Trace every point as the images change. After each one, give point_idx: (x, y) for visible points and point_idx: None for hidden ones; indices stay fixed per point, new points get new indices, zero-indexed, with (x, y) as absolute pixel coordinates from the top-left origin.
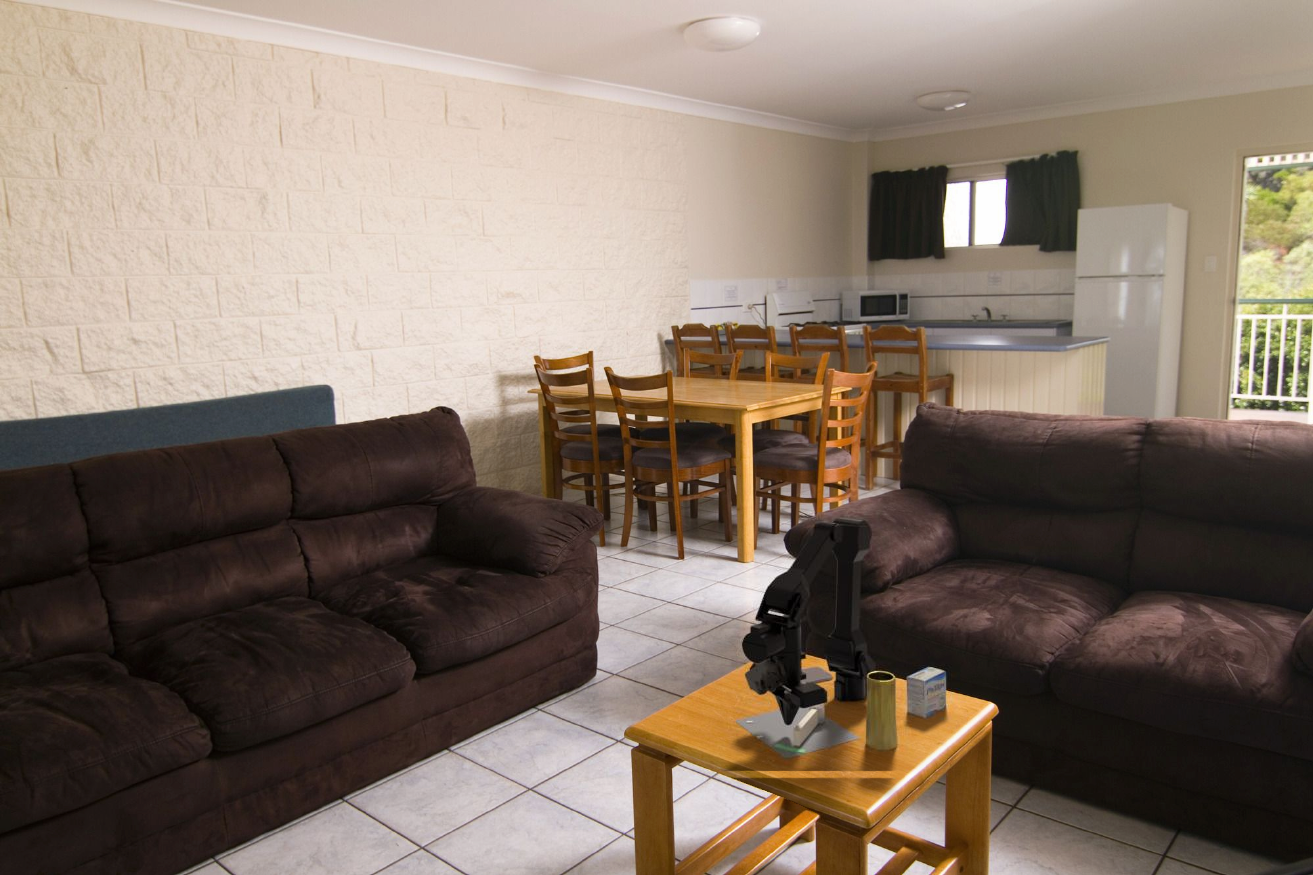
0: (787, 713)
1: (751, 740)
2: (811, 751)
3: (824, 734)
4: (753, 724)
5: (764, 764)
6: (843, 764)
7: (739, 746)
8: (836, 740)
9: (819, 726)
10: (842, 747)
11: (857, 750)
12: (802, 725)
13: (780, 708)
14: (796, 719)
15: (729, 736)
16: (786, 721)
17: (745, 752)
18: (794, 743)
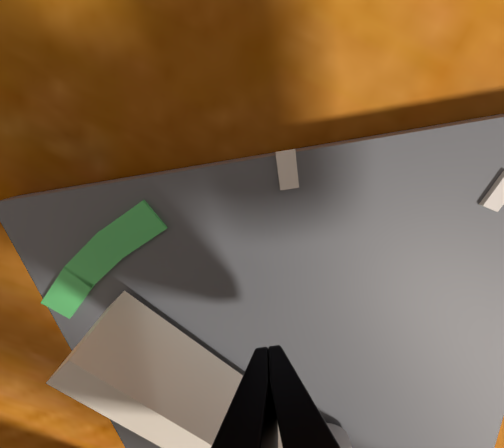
0: (215, 445)
1: (323, 127)
2: (62, 331)
3: None
4: (459, 200)
5: (15, 78)
6: (6, 378)
7: (280, 14)
8: None
9: None
10: None
11: (105, 441)
12: (127, 422)
13: (314, 446)
14: (381, 389)
15: (444, 2)
16: (249, 367)
17: (189, 20)
18: (117, 299)
